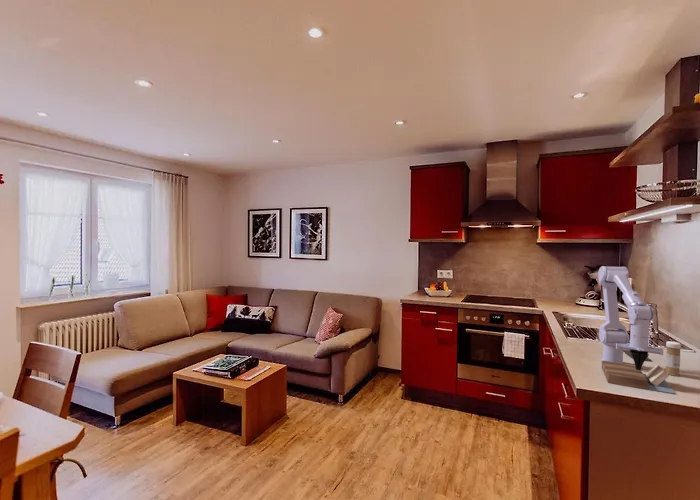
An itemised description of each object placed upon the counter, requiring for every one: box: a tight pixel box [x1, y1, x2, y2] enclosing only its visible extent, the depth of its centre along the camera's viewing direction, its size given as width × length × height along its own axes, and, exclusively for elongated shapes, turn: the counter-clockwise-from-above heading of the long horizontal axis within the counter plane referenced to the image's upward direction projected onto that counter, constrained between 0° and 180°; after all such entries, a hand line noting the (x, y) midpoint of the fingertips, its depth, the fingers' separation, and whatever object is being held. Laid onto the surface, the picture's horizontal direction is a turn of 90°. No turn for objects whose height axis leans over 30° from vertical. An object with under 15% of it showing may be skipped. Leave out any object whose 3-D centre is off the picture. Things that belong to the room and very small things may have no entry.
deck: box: [601, 360, 648, 390], centre depth 143 cm, size 18×12×4 cm, turn 151°
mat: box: [643, 373, 677, 395], centre depth 138 cm, size 18×8×1 cm, turn 151°
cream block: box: [644, 364, 670, 386], centre depth 137 cm, size 9×6×2 cm
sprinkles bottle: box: [665, 340, 682, 377], centre depth 147 cm, size 5×5×14 cm
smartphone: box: [623, 349, 653, 363], centre depth 171 cm, size 7×1×15 cm
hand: (638, 369), depth 140 cm, fingers closed
